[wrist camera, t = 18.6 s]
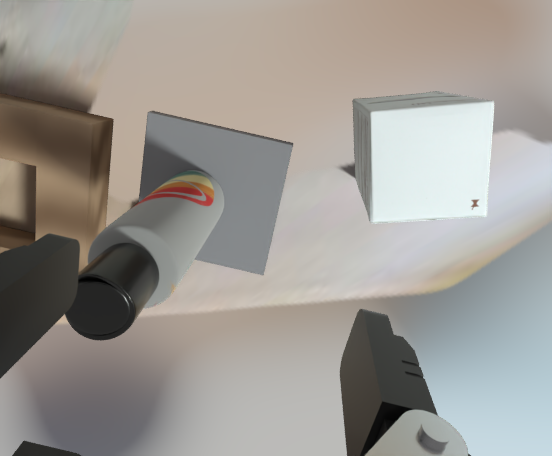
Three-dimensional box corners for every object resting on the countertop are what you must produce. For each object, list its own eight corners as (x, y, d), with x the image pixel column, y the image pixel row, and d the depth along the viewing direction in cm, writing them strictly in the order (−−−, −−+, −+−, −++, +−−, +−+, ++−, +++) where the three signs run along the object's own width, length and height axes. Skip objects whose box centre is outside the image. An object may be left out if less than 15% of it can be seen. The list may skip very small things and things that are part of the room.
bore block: (-79, 74, 39) (-121, 75, 35) (113, 118, 39) (92, 124, 35) (-65, 251, 45) (-99, 267, 42) (100, 288, 45) (81, 308, 42)
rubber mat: (152, 110, 38) (147, 112, 37) (293, 143, 38) (292, 145, 37) (138, 241, 43) (134, 245, 42) (264, 269, 43) (263, 275, 42)
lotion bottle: (177, 158, 39) (52, 240, 20) (235, 185, 39) (165, 290, 20) (157, 212, 40) (25, 333, 22) (212, 237, 41) (129, 376, 22)
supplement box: (439, 89, 36) (501, 98, 24) (435, 175, 39) (489, 221, 27) (350, 96, 37) (369, 108, 25) (352, 180, 39) (369, 227, 27)
